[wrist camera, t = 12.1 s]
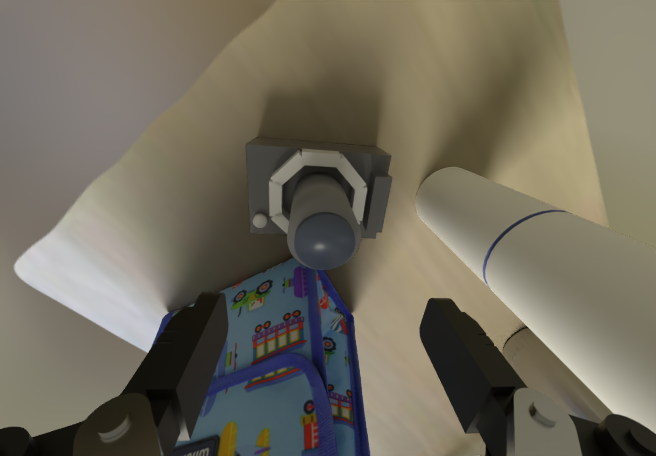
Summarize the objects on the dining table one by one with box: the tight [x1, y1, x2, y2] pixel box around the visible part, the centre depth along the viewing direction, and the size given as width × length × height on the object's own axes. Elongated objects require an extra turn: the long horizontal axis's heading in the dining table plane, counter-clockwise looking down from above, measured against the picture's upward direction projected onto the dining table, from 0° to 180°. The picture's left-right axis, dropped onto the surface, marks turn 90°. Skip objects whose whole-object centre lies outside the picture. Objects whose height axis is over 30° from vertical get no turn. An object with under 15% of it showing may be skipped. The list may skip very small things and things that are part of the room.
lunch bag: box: [151, 257, 370, 456], centre depth 22 cm, size 22×14×29 cm, turn 115°
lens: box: [287, 171, 361, 270], centre depth 19 cm, size 4×4×9 cm
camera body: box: [246, 137, 392, 239], centre depth 24 cm, size 12×8×7 cm, turn 85°
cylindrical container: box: [415, 167, 656, 434], centre depth 18 cm, size 7×7×25 cm
